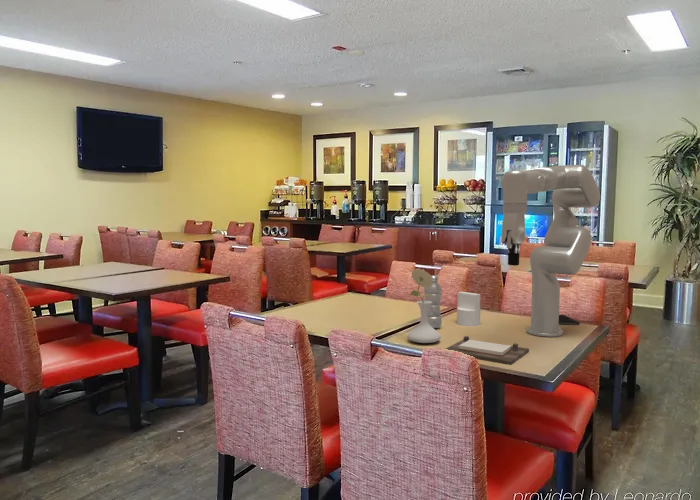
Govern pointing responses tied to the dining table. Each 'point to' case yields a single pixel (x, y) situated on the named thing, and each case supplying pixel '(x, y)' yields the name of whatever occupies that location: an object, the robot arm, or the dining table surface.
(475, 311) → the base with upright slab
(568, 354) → the dining table surface
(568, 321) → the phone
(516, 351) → the board
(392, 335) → the dining table surface
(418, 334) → the flower in vase
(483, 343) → the tile
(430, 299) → the plastic bottle
